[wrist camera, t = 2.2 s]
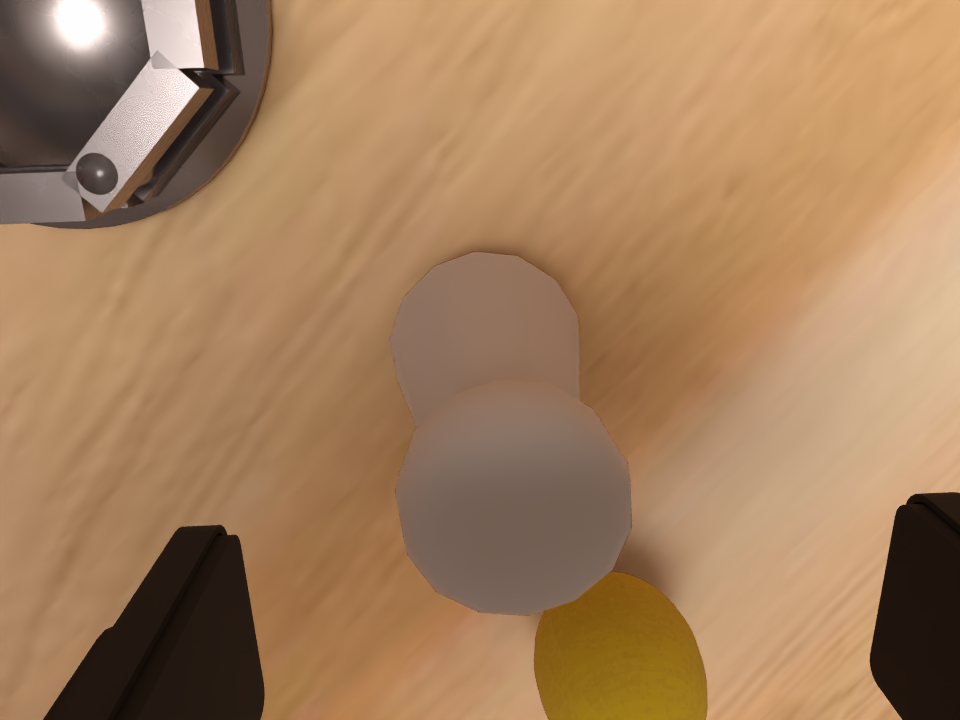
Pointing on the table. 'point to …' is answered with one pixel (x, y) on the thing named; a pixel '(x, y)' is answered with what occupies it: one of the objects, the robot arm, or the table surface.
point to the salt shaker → (503, 441)
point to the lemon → (619, 656)
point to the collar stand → (123, 103)
